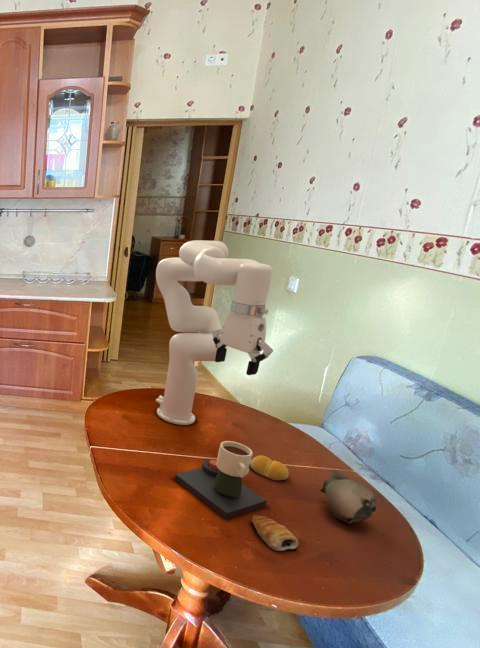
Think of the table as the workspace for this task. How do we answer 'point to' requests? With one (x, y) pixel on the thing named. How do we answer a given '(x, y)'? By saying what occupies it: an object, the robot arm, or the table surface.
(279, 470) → the bread roll
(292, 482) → the table surface
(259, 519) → the pastry
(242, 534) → the table surface
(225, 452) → the character mug
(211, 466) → the button
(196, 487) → the scale
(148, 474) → the table surface
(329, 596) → the table surface
